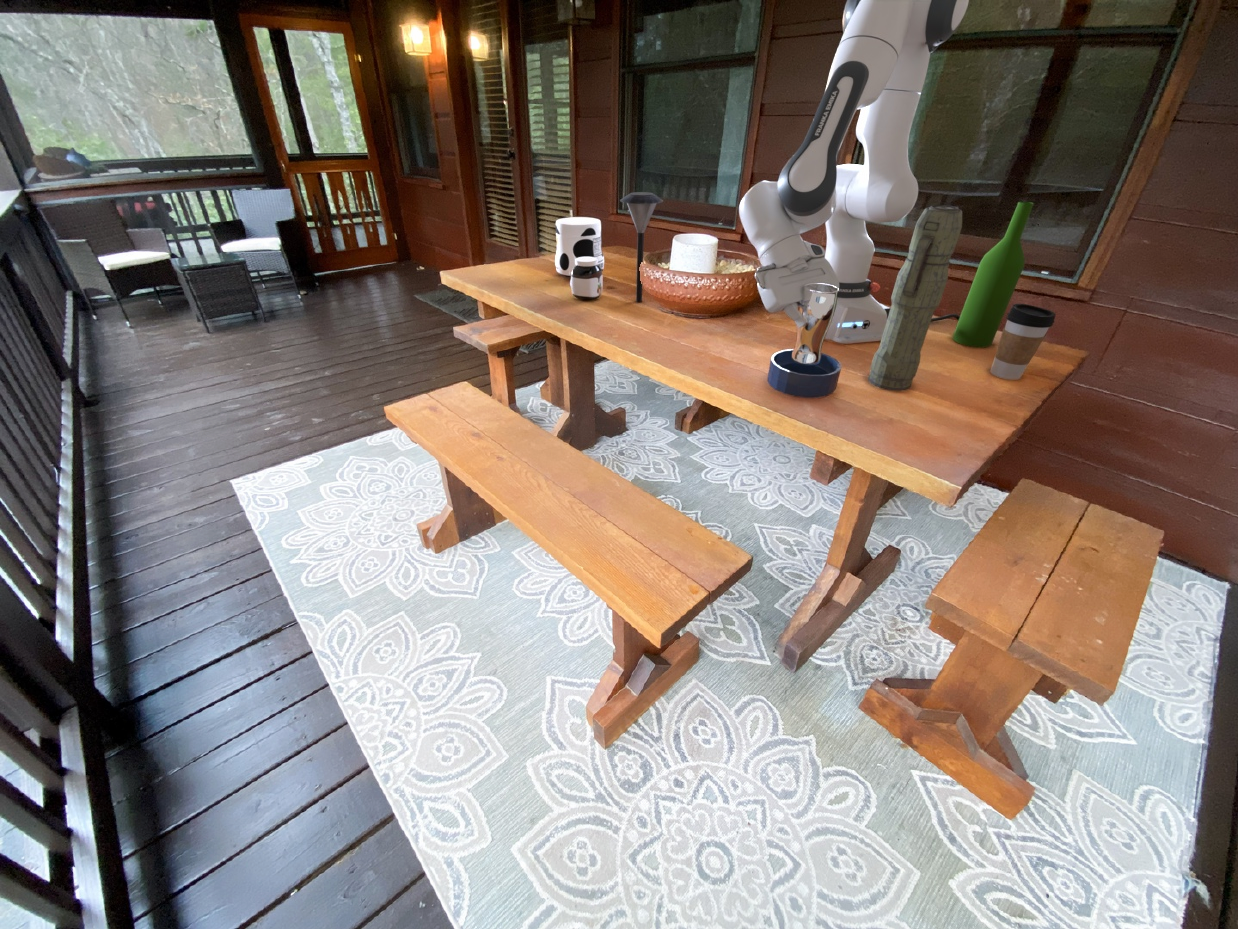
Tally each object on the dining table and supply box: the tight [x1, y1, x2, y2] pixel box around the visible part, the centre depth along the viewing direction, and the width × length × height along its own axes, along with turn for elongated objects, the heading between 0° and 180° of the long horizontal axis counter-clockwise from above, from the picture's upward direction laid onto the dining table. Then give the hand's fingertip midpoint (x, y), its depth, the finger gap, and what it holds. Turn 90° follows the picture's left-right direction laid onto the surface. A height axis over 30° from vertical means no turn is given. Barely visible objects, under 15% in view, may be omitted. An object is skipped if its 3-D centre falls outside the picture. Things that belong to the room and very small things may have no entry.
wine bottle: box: [952, 201, 1035, 348], centre depth 128 cm, size 9×9×32 cm
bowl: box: [766, 348, 842, 399], centre depth 113 cm, size 14×14×6 cm
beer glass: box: [791, 283, 839, 366], centre depth 107 cm, size 7×7×15 cm
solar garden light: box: [619, 191, 664, 303], centre depth 156 cm, size 12×12×30 cm
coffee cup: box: [989, 303, 1056, 381], centre depth 116 cm, size 8×8×15 cm
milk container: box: [554, 216, 605, 279], centre depth 184 cm, size 17×17×18 cm
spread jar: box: [569, 257, 604, 302], centre depth 166 cm, size 12×11×12 cm
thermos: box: [867, 204, 963, 392], centre depth 107 cm, size 9×12×35 cm
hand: (816, 321), depth 106 cm, fingers closed on beer glass, 7 cm apart
